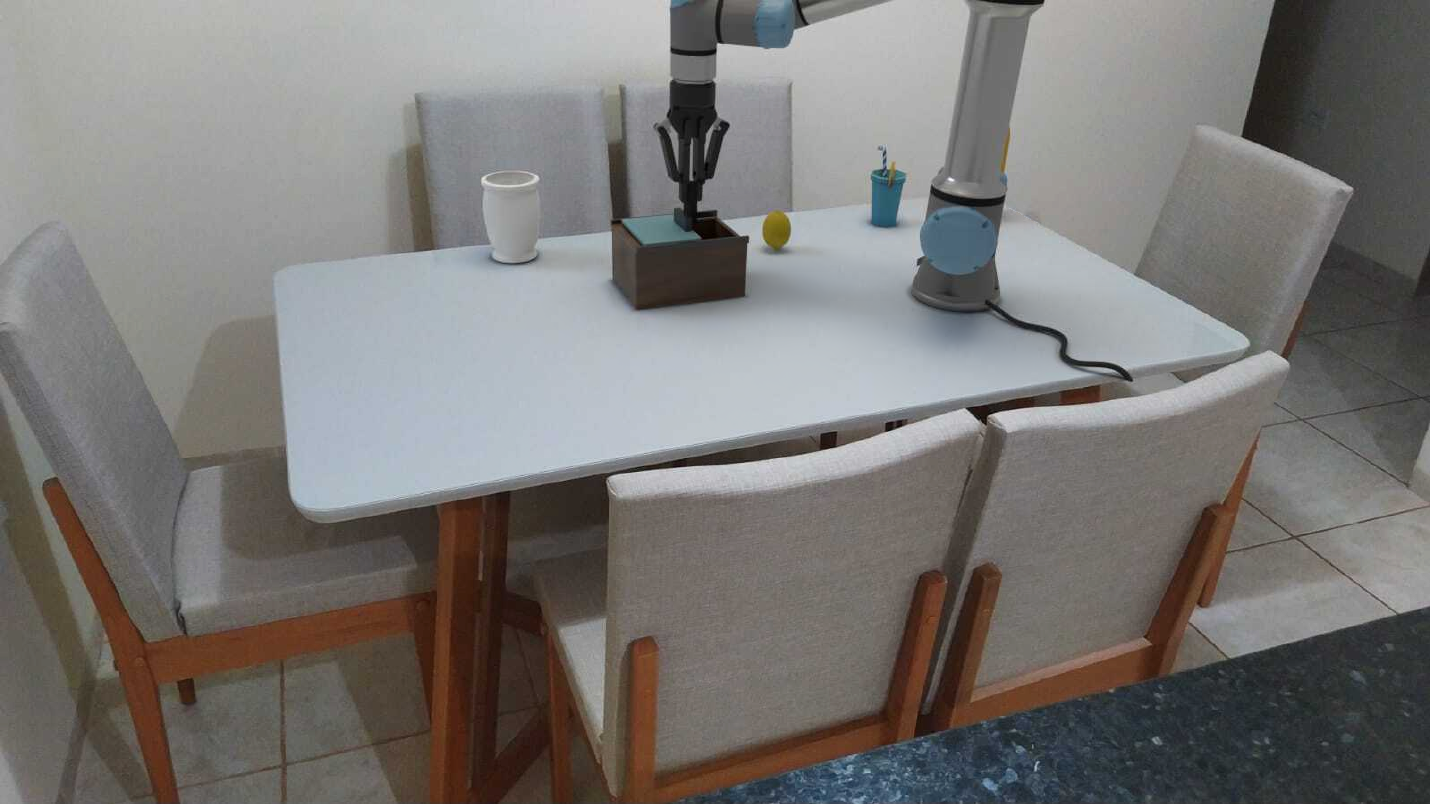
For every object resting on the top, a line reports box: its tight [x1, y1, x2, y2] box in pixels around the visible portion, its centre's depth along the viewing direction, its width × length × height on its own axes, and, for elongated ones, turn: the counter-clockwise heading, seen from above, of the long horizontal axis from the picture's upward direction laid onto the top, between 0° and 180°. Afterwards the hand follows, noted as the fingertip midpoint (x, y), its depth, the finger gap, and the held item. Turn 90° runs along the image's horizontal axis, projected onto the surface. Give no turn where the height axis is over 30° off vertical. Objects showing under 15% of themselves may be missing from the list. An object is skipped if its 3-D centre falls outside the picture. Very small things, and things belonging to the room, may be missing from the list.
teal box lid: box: [621, 207, 702, 246], centre depth 179 cm, size 13×10×3 cm
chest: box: [610, 209, 750, 310], centre depth 183 cm, size 15×20×11 cm
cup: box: [870, 145, 908, 228], centre depth 219 cm, size 14×8×15 cm, turn 10°
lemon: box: [761, 209, 792, 251], centre depth 203 cm, size 6×6×8 cm
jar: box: [480, 170, 542, 264], centre depth 194 cm, size 11×10×15 cm
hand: (690, 219), depth 181 cm, fingers closed
